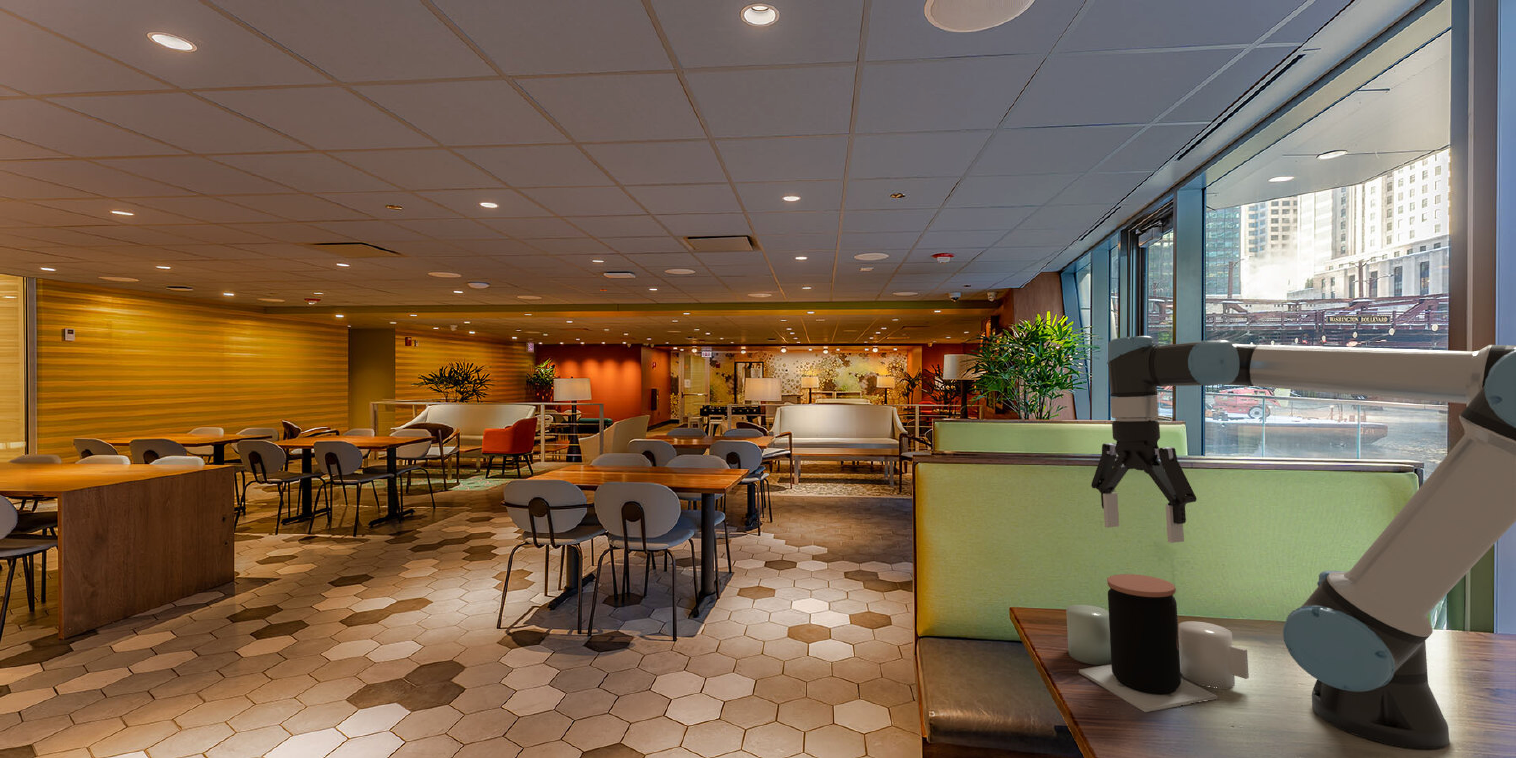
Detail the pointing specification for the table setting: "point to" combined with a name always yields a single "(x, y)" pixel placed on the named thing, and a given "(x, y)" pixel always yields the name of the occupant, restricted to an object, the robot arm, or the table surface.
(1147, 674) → the coffee jar
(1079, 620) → the mug sage
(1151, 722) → the table surface
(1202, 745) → the table surface
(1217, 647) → the mug cream
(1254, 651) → the table surface
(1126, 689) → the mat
